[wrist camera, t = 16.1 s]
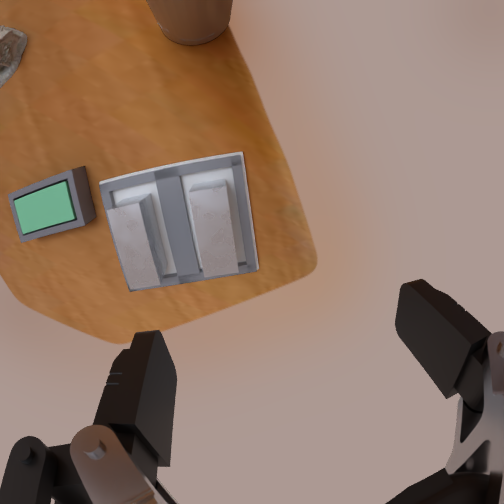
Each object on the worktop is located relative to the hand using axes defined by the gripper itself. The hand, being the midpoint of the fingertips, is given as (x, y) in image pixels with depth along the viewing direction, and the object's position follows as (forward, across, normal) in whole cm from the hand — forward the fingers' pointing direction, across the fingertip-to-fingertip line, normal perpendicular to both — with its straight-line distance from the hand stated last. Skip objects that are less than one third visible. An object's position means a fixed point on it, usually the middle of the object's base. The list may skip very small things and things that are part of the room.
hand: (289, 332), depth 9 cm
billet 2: (+29, +3, +4) cm, 29 cm away
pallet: (+30, +8, +4) cm, 31 cm away
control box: (+30, +26, -3) cm, 40 cm away
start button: (+27, +26, -3) cm, 38 cm away
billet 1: (+29, +13, +4) cm, 32 cm away
